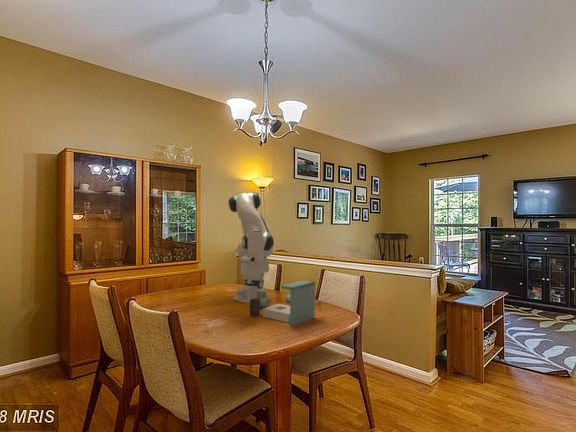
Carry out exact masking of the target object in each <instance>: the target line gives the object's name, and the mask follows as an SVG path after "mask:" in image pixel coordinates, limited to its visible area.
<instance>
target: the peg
mask: <svg viewBox="0 0 576 432" xmlns="http://www.w3.org/2000/svg"><path fill="white" fill-rule="evenodd" d="M258 316H261V308H260V299H256V298H254V299H250V303H249V317H254V318H256V317H258Z"/></svg>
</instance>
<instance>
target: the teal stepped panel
mask: <svg viewBox="0 0 576 432" xmlns="http://www.w3.org/2000/svg"><path fill="white" fill-rule="evenodd" d="M280 288H281V289H282V290H289V291H290V292H289V293H290V302H289V304H290V305H289V306H290V323H289V326H292V327H294V326H297V325H299V324H301V323H304V322H307V321H309V320H311V319H314V318H315V309H316V308H315V301H316V300H315V299H316V298H315V292H316V282H315V281H309V280H299V281H294V282H290V283H287V284H286V283H285V284H282V285H281V286H280Z"/></svg>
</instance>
